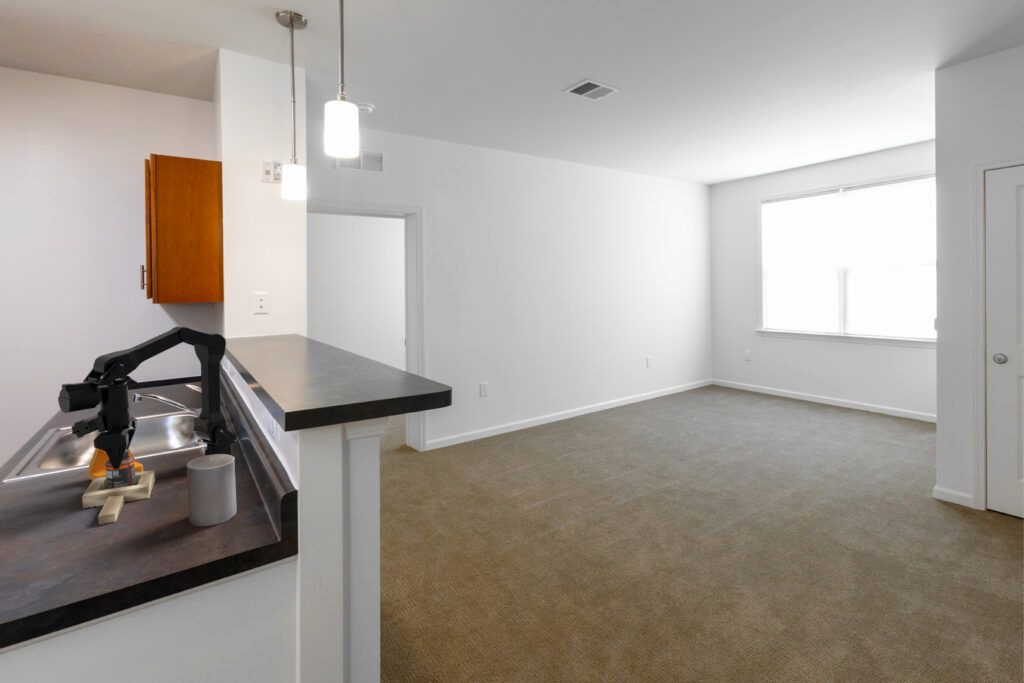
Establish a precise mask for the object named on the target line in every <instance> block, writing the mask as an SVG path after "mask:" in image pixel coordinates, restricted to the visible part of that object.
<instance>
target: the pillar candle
mask: <svg viewBox="0 0 1024 683" xmlns="http://www.w3.org/2000/svg"><path fill="white" fill-rule="evenodd" d="M235 460H236V457H235V456H233V455H232V454H231V455H227V454H214V455H207V456H205V455H203V456H199V457H196V458H193V459H191V460H189V461H188V462H187V463H186V482H187V501H188V503H187V505H188V506H187V507H188V521H189V524H190V525H192V526H195V527H211V526H215V525H220V524H222V523H226V522H228V521H230V520H231V519H232V518H233V517H234V516H236V515H237V509H238V508H237V488H236V486H237V485H236V469H235V467H236V465H235V464H236V463H235Z"/></svg>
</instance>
